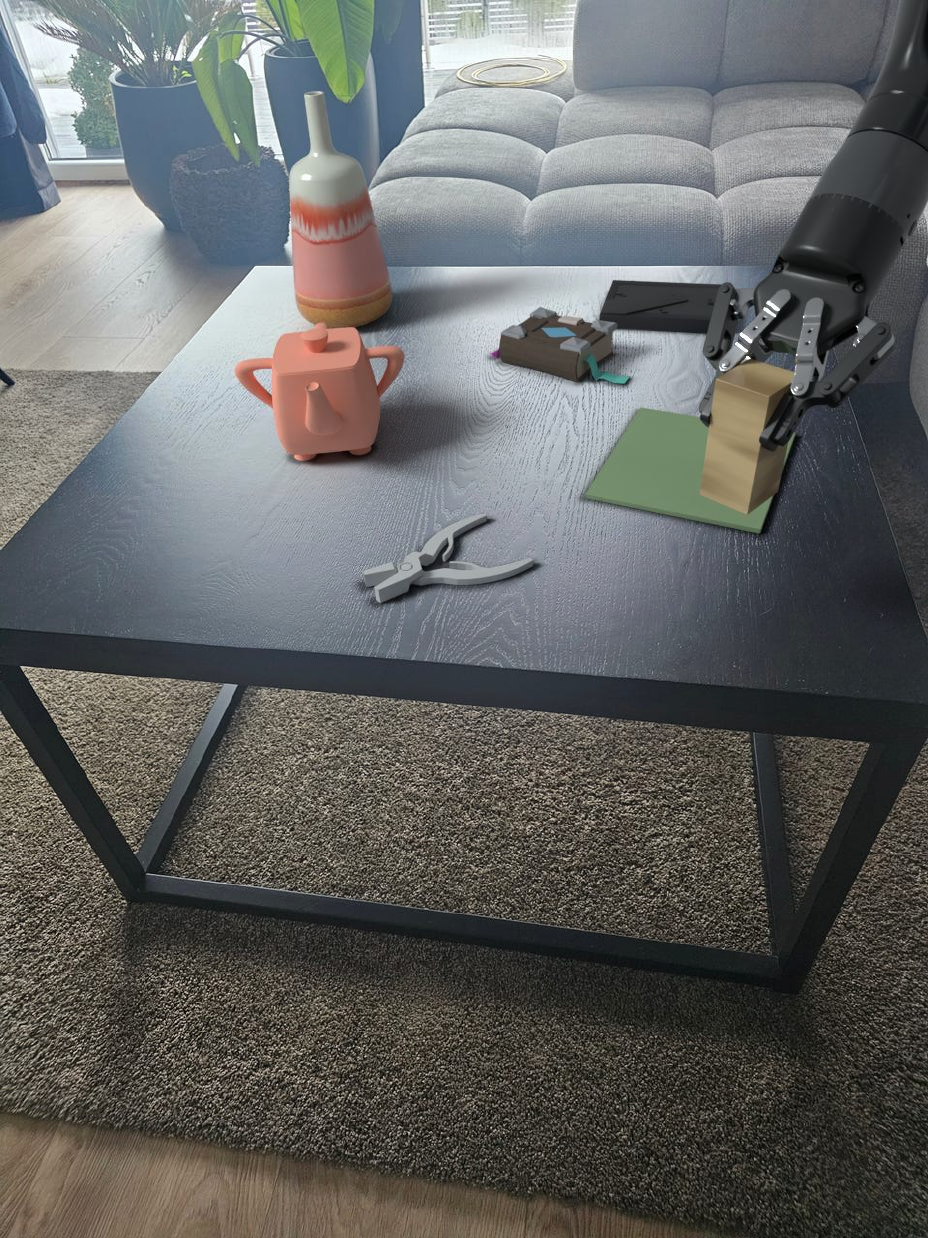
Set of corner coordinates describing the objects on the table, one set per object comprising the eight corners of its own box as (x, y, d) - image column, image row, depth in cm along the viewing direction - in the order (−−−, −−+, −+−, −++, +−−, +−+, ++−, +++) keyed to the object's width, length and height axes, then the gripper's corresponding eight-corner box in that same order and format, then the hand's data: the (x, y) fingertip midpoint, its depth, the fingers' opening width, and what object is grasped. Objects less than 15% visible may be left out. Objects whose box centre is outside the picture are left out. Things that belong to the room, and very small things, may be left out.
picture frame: (599, 327, 122) (727, 334, 118) (599, 312, 121) (730, 318, 117) (611, 292, 132) (731, 297, 128) (612, 277, 130) (733, 282, 126)
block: (730, 472, 71) (749, 357, 64) (778, 491, 68) (803, 374, 62) (699, 494, 69) (715, 378, 62) (747, 515, 66) (769, 396, 60)
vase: (317, 298, 137) (281, 83, 117) (404, 300, 134) (382, 80, 115) (286, 336, 126) (240, 106, 107) (380, 338, 124) (350, 104, 104)
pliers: (534, 553, 81) (391, 610, 76) (534, 567, 82) (393, 623, 77) (482, 504, 88) (348, 553, 83) (483, 517, 89) (350, 566, 84)
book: (658, 357, 114) (661, 320, 111) (613, 394, 107) (616, 356, 104) (532, 328, 124) (532, 293, 120) (483, 360, 116) (482, 324, 113)
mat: (794, 436, 97) (796, 432, 97) (760, 534, 84) (761, 529, 83) (640, 411, 103) (640, 407, 103) (585, 498, 90) (585, 493, 90)
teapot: (331, 396, 111) (313, 295, 102) (425, 427, 103) (415, 321, 95) (234, 454, 101) (205, 348, 93) (331, 493, 94) (309, 381, 85)
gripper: (753, 174, 62) (638, 387, 65) (952, 208, 54) (813, 450, 56) (780, 231, 69) (674, 423, 71) (961, 269, 60) (836, 485, 63)
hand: (736, 434), depth 64 cm, fingers closed on block, 4 cm apart
